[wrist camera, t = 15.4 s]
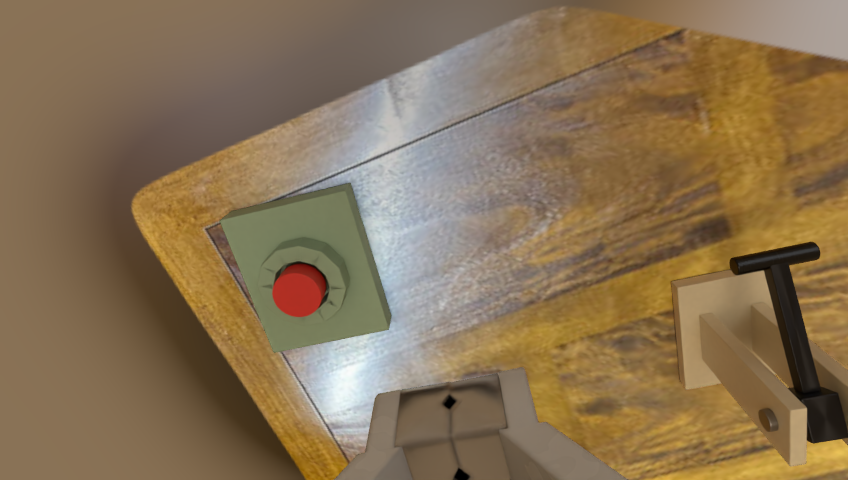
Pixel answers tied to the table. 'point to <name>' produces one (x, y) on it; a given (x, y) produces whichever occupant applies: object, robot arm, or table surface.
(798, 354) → the press lever
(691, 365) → the lever bracket
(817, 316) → the table surface
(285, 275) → the button
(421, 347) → the table surface
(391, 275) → the table surface
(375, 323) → the button housing
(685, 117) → the table surface
